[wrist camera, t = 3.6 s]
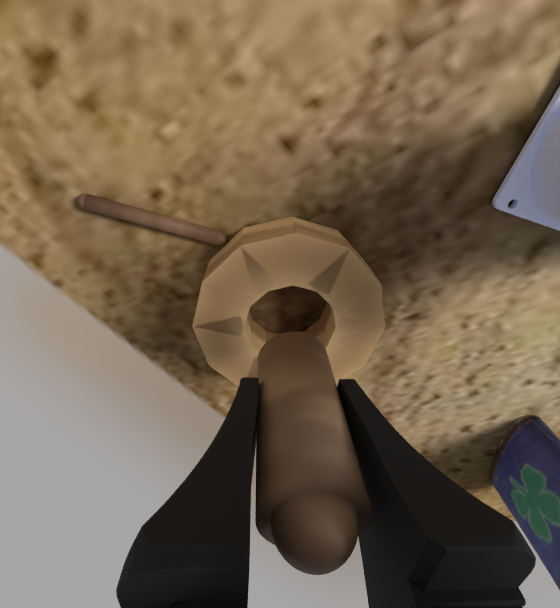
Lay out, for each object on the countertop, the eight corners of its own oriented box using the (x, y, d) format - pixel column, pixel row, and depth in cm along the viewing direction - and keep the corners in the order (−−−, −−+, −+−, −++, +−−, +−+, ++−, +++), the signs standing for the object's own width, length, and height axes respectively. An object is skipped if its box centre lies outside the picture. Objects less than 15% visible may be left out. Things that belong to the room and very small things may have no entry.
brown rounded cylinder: (328, 329, 15) (393, 526, 8) (326, 385, 16) (379, 595, 9) (254, 333, 15) (249, 538, 8) (260, 390, 16) (259, 605, 9)
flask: (510, 482, 33) (610, 629, 23) (480, 483, 33) (569, 632, 23) (547, 412, 28) (689, 560, 19) (512, 413, 28) (638, 563, 19)
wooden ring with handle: (397, 247, 20) (417, 267, 18) (332, 378, 25) (341, 409, 22) (83, 153, 17) (51, 160, 14) (77, 324, 22) (52, 353, 19)
